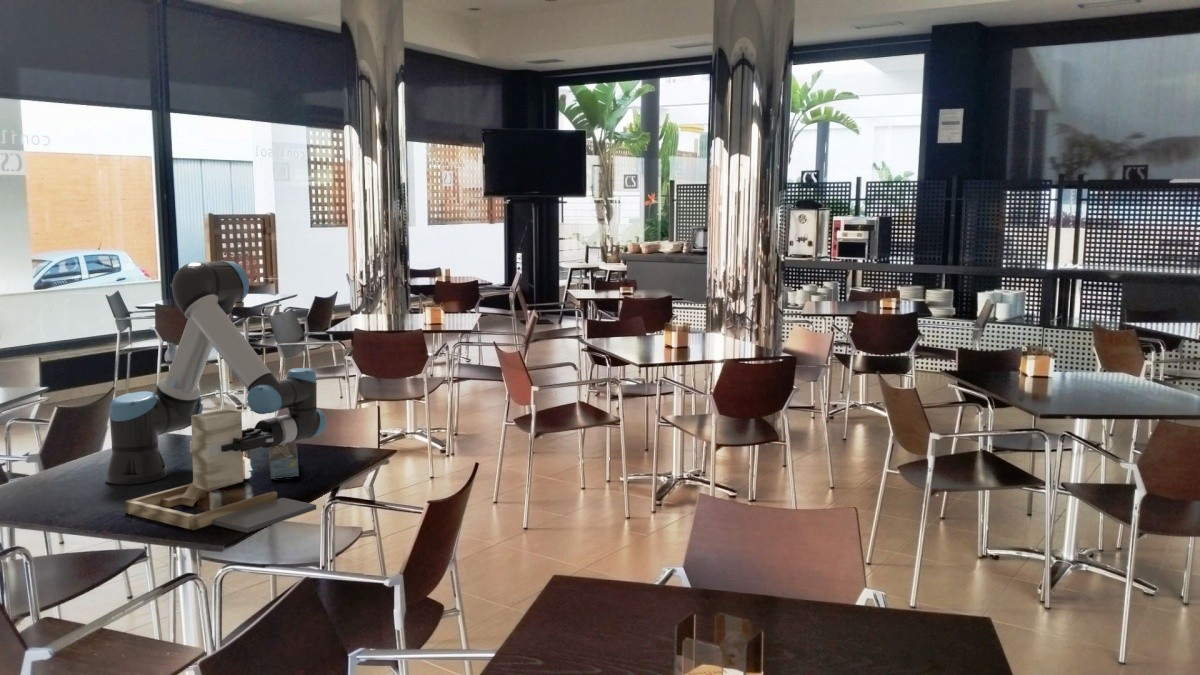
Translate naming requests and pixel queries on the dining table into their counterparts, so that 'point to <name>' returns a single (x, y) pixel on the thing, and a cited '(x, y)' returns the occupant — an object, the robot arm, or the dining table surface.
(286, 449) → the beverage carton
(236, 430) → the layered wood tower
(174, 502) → the offcut lower
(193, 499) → the offcut upper
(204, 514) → the wooden frame
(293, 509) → the slate board
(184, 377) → the robot arm
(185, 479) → the dining table surface
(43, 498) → the dining table surface
